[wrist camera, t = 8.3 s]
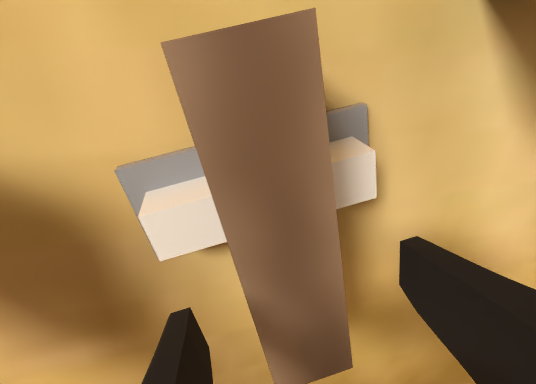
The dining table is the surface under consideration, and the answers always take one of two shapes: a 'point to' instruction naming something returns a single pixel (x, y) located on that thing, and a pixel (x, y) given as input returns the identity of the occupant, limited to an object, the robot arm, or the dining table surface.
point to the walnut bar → (271, 182)
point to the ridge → (200, 199)
